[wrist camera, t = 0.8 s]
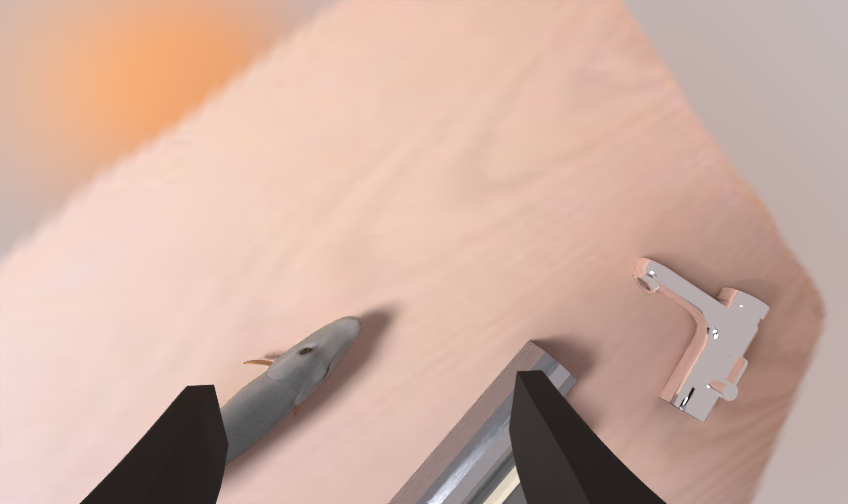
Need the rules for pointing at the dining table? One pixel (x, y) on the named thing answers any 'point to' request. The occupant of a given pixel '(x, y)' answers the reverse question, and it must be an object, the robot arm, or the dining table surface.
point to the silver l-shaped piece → (706, 339)
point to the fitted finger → (504, 488)
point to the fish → (285, 384)
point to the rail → (479, 438)
